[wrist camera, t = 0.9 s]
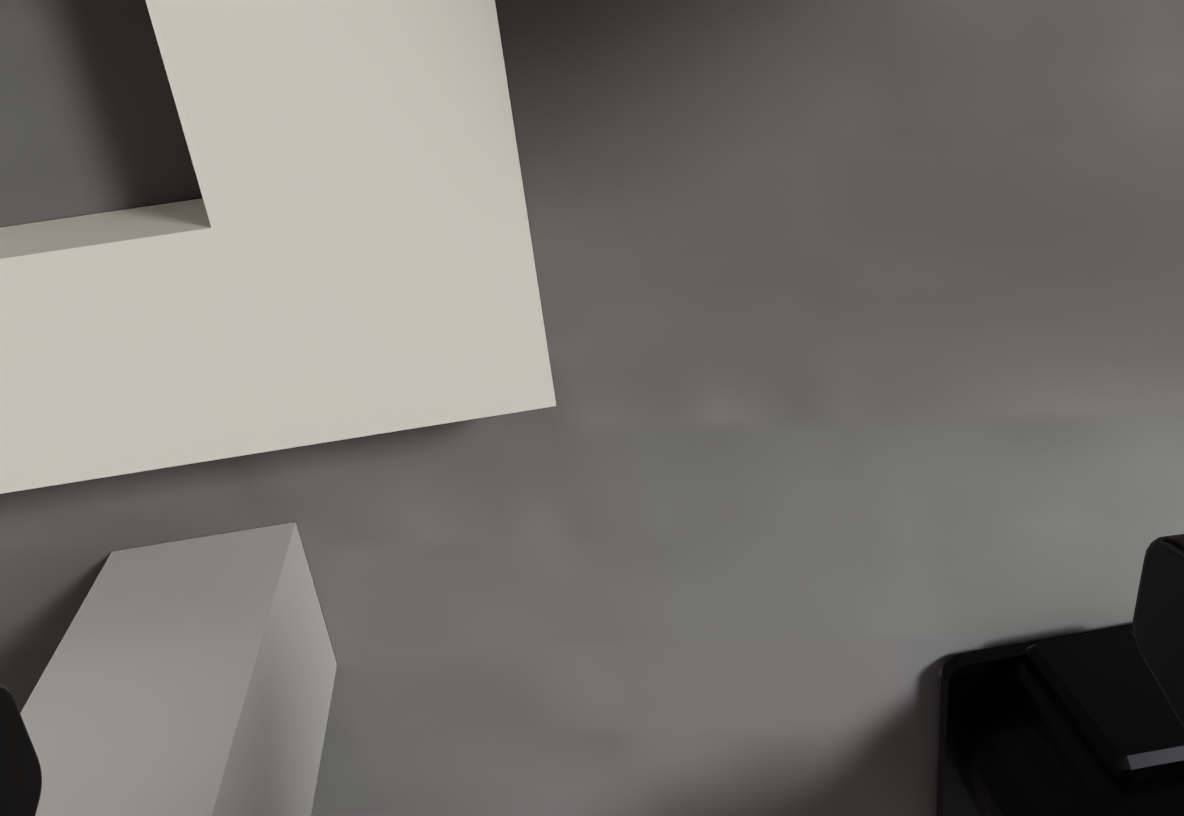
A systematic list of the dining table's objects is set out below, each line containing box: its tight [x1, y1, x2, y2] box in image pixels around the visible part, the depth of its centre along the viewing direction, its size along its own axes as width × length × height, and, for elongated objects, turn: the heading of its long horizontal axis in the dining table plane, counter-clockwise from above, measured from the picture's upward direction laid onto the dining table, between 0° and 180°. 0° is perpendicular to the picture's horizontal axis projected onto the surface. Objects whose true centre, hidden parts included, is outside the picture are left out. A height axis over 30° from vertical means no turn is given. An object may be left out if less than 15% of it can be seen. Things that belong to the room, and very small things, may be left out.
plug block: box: [20, 522, 337, 816], centre depth 19 cm, size 4×4×10 cm
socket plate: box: [0, 0, 556, 494], centre depth 17 cm, size 14×16×3 cm
